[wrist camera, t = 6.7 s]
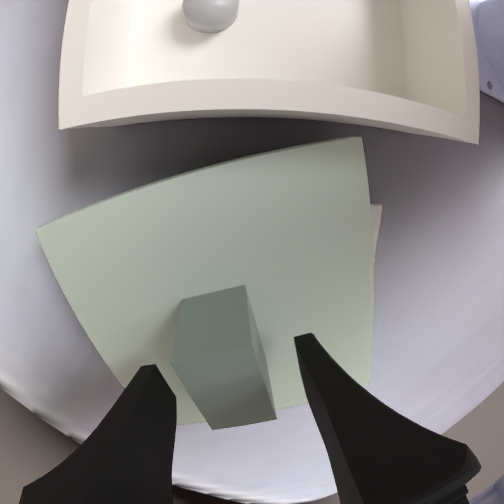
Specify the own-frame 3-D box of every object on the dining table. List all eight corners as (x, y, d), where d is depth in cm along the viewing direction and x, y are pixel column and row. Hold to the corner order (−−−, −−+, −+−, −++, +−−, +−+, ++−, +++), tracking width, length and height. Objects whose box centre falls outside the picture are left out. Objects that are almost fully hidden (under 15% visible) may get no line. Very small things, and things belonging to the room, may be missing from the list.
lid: (342, 135, 11) (420, 146, 6) (359, 362, 16) (392, 429, 11) (55, 216, 11) (-17, 268, 6) (158, 404, 16) (148, 473, 11)
